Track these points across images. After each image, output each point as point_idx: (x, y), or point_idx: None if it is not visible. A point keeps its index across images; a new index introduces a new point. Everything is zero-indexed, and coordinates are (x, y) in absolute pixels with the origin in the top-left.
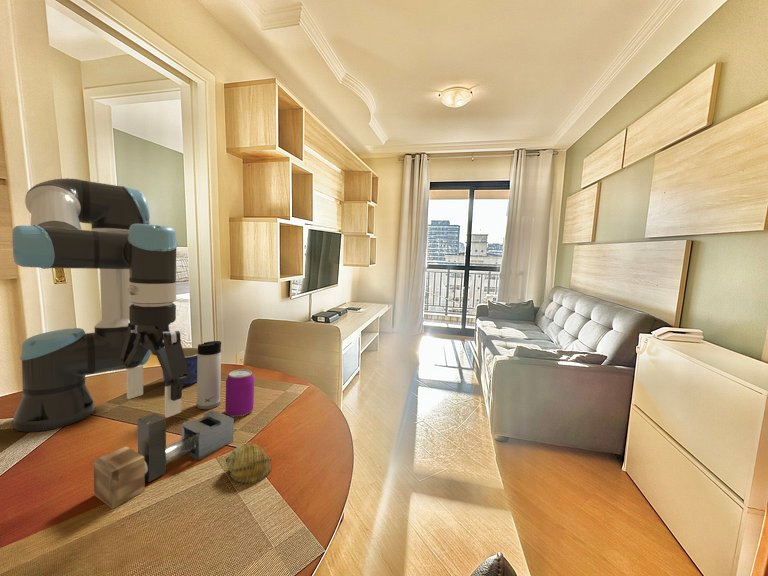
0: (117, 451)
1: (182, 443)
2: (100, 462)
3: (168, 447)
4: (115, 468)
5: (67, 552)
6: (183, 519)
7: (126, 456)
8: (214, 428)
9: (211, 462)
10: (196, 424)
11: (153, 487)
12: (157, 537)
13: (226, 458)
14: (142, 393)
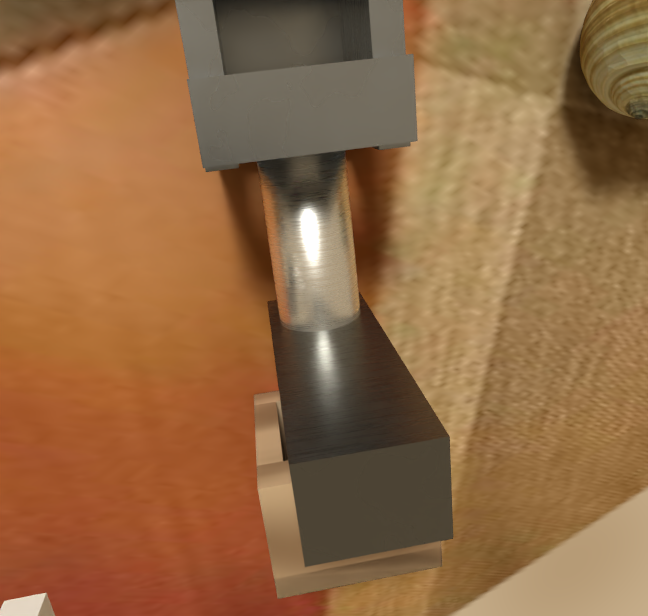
0: (279, 524)
1: (333, 215)
2: (322, 583)
3: (325, 290)
4: (426, 554)
5: (475, 559)
6: (639, 337)
7: None
8: (399, 12)
9: (438, 101)
10: (304, 106)
11: (396, 344)
12: (631, 409)
13: (637, 111)
14: (43, 610)
